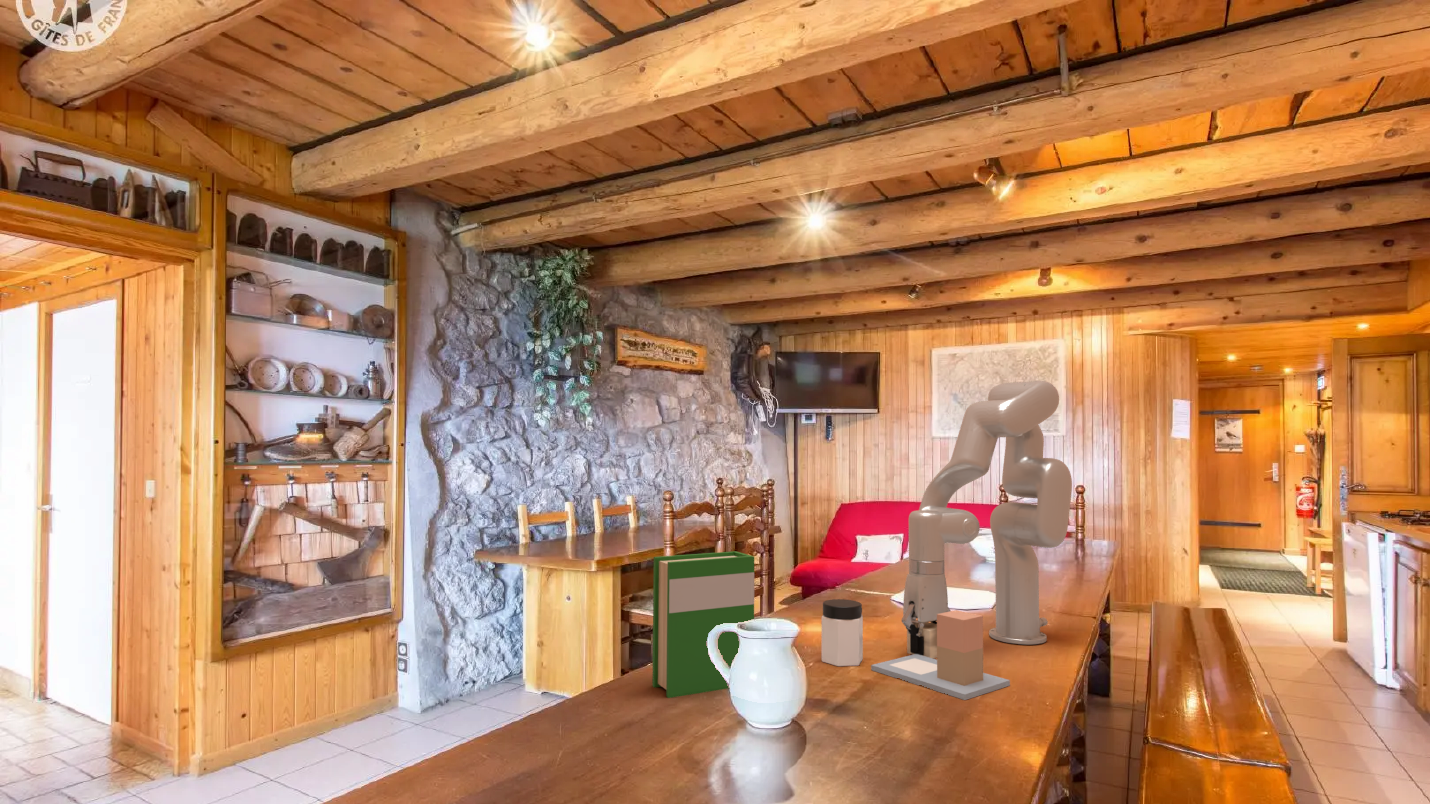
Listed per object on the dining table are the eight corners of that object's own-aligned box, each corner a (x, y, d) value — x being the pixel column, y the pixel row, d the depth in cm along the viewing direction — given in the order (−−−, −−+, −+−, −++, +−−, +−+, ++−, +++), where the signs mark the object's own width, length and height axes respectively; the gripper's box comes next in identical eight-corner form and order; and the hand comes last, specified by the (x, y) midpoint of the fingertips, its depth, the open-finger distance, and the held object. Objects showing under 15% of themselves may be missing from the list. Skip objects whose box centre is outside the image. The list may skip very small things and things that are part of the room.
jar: (871, 662, 161) (871, 604, 162) (845, 669, 156) (845, 609, 156) (839, 652, 168) (839, 597, 168) (813, 659, 163) (813, 601, 163)
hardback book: (668, 698, 138) (669, 562, 139) (652, 686, 145) (653, 556, 146) (753, 684, 146) (754, 556, 147) (735, 673, 153) (735, 551, 154)
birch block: (924, 648, 172) (924, 621, 172) (947, 654, 167) (947, 626, 167) (907, 652, 168) (906, 625, 168) (929, 659, 163) (929, 630, 164)
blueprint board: (916, 658, 164) (916, 625, 164) (1009, 685, 146) (1009, 648, 146) (871, 670, 155) (871, 634, 156) (964, 700, 138) (964, 660, 138)
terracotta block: (956, 641, 151) (956, 610, 152) (983, 647, 146) (982, 615, 147) (937, 645, 148) (936, 614, 148) (964, 652, 143) (963, 620, 143)
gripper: (937, 561, 177) (937, 641, 176) (886, 569, 166) (887, 653, 165) (965, 566, 171) (966, 649, 170) (914, 574, 160) (915, 662, 159)
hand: (927, 650), depth 168 cm, fingers closed on birch block, 6 cm apart
